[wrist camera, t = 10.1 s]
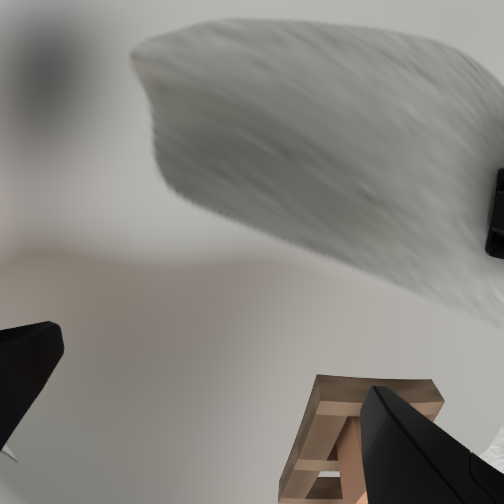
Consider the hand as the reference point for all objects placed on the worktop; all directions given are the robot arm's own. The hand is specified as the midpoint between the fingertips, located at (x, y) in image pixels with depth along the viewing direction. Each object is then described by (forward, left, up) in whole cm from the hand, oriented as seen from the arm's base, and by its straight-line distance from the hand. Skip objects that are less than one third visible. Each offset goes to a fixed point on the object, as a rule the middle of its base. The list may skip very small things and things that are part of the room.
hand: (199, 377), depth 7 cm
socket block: (-11, +15, -12) cm, 22 cm away
